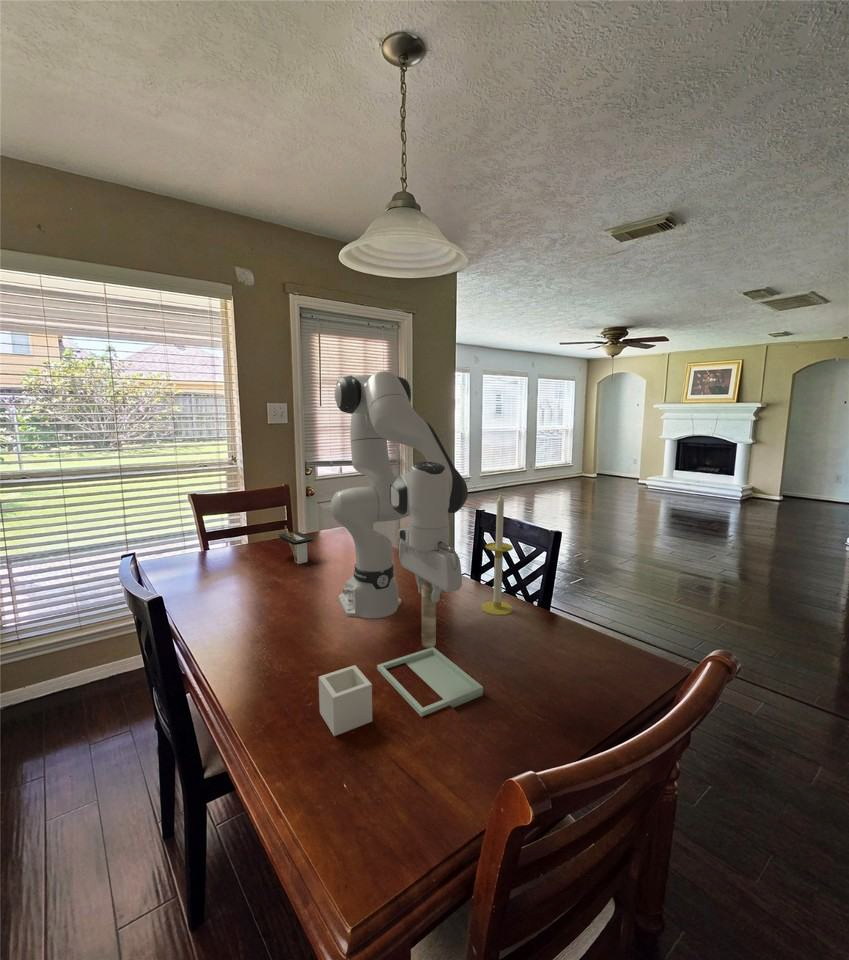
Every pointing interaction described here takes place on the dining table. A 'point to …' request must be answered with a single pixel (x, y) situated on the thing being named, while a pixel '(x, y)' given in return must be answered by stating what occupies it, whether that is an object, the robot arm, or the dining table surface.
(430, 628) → the dowel
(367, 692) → the cup
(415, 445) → the robot arm
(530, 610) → the dining table surface
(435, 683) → the tray
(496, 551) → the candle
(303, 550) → the architectural model
